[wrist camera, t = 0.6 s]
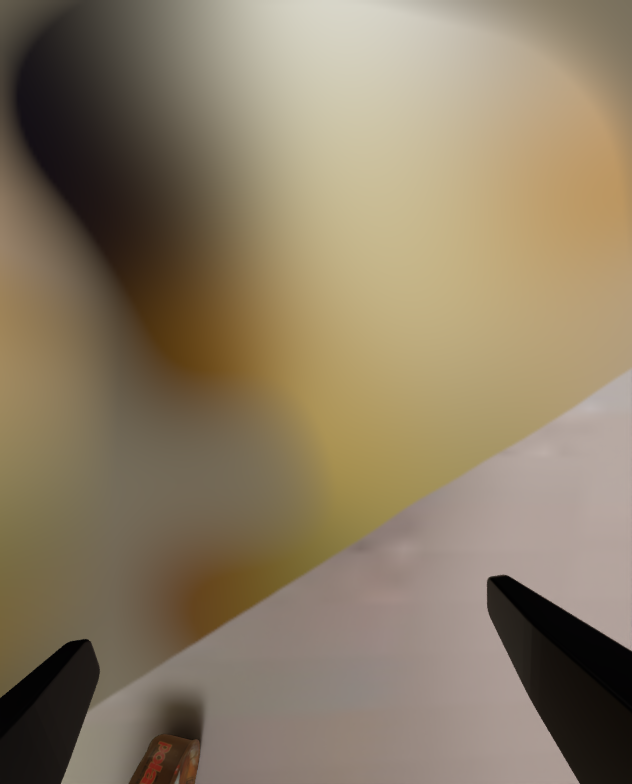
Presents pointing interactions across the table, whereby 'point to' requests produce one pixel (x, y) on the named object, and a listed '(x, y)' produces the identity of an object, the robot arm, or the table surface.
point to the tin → (168, 761)
